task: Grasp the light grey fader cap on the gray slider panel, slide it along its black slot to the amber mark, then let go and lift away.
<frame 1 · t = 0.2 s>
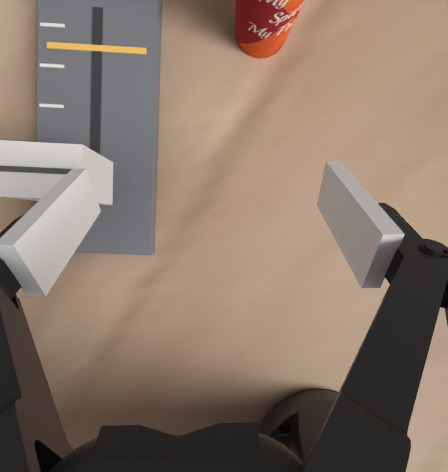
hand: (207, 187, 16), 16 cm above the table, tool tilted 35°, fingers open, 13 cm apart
gray slider panel: (103, 115, 30), on the table
fader: (70, 179, 24), point 7 cm above the table, slide at 0.0 cm
paper cup: (261, 33, 31), on the table
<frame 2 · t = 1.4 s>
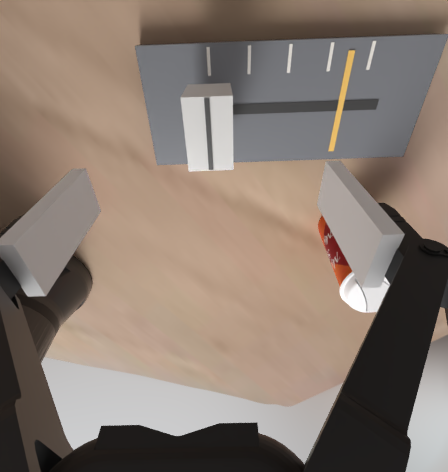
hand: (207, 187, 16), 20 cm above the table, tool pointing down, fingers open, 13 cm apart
gray slider panel: (281, 103, 32), on the table
fader: (210, 122, 26), point 7 cm above the table, slide at 0.0 cm
paper cup: (336, 222, 42), on the table
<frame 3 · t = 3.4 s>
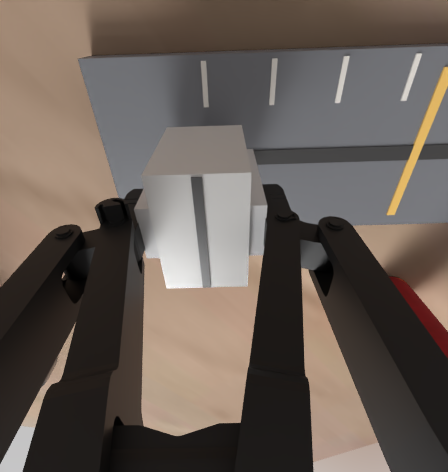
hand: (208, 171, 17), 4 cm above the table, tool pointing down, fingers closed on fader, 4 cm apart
gray slider panel: (318, 145, 20), on the table
fader: (206, 192, 15), point 7 cm above the table, slide at 0.0 cm, touching gripper
paper cup: (380, 292, 31), on the table
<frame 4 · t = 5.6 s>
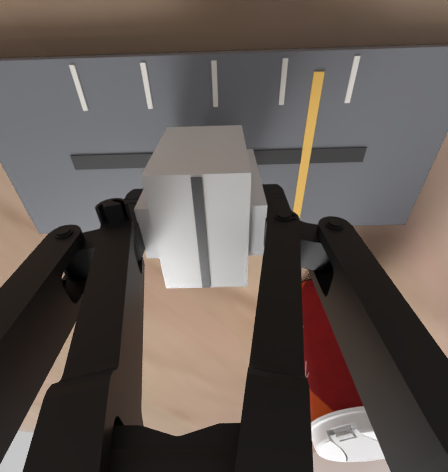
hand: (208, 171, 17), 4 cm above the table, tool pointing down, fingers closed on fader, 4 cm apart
gray slider panel: (218, 148, 20), on the table
fader: (206, 192, 15), point 7 cm above the table, slide at 7.4 cm, touching gripper
paper cup: (313, 294, 31), on the table
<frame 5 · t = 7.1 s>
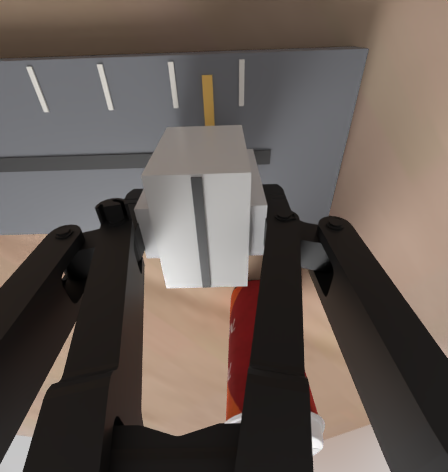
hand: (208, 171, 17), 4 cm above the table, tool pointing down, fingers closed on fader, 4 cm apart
gray slider panel: (132, 150, 21), on the table
fader: (206, 192, 15), point 7 cm above the table, slide at 13.8 cm, touching gripper
paper cup: (256, 295, 31), on the table
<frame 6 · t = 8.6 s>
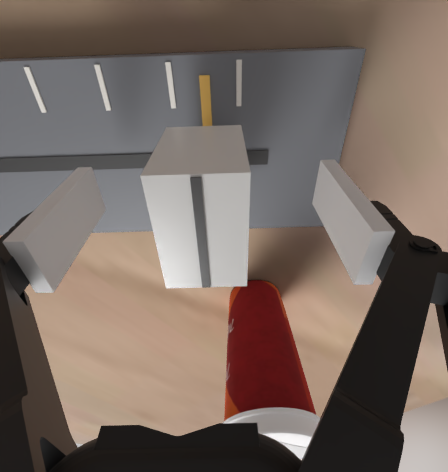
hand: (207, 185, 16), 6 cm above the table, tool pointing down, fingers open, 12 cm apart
gray slider panel: (130, 150, 21), on the table
fader: (206, 192, 15), point 7 cm above the table, slide at 14.0 cm
paper cup: (254, 295, 31), on the table
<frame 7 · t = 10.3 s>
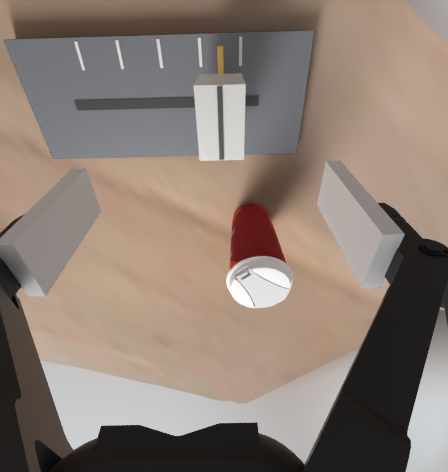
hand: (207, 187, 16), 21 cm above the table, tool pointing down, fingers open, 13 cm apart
gray slider panel: (169, 99, 32), on the table
fader: (221, 112, 26), point 7 cm above the table, slide at 14.0 cm
paper cup: (251, 219, 42), on the table
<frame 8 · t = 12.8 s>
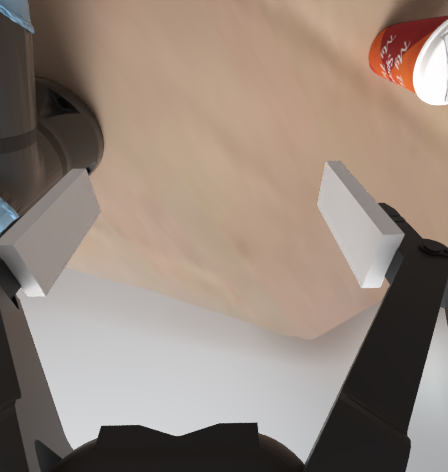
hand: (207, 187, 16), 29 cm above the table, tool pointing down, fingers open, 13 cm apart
paper cup: (390, 51, 36), on the table
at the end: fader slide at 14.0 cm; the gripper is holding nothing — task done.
